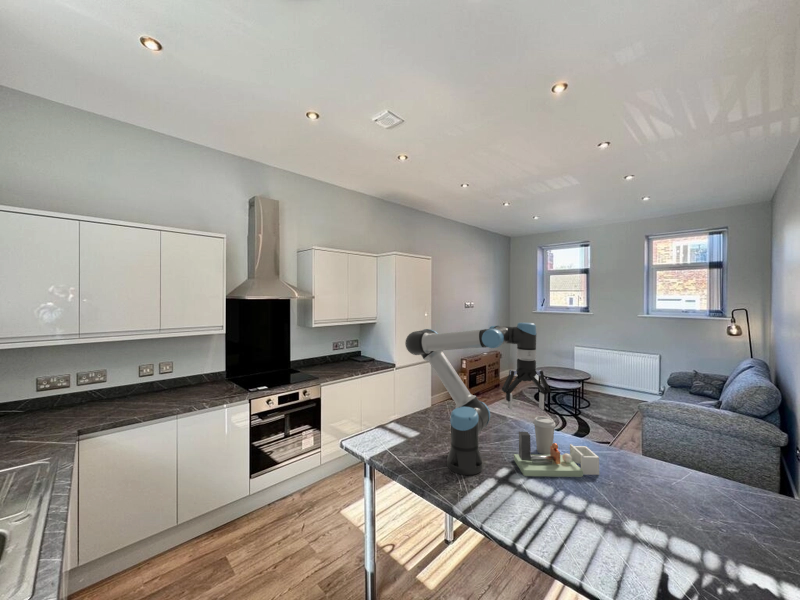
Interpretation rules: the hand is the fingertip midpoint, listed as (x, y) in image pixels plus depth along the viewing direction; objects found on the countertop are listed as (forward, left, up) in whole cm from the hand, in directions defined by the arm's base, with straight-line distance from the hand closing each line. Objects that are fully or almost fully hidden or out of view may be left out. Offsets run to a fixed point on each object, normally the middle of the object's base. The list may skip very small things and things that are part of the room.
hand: (525, 408), depth 133 cm
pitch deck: (+8, -1, -24) cm, 26 cm away
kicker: (+5, -1, -21) cm, 22 cm away
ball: (+16, -1, -20) cm, 26 cm away
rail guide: (+5, -1, -22) cm, 23 cm away
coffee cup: (+13, +13, -25) cm, 31 cm away
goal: (+23, -1, -24) cm, 33 cm away
